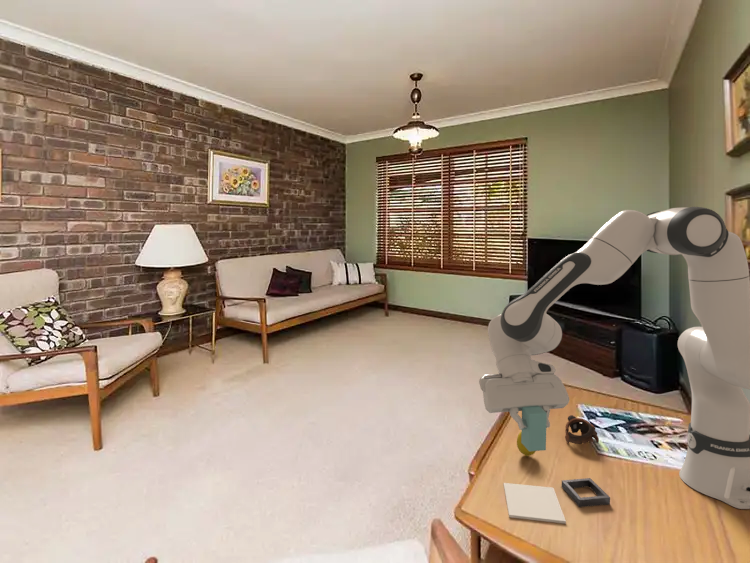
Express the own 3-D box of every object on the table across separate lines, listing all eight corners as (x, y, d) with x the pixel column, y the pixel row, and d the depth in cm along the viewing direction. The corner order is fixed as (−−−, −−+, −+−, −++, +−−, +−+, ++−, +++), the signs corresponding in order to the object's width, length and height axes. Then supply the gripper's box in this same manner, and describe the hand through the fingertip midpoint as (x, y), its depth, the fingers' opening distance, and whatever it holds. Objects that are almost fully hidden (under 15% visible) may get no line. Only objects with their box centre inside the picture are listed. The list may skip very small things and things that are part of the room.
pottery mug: (608, 448, 119) (602, 430, 116) (579, 462, 119) (572, 445, 116) (583, 421, 130) (576, 403, 127) (557, 434, 131) (550, 417, 127)
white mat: (553, 489, 100) (553, 487, 100) (565, 523, 88) (565, 521, 88) (503, 484, 102) (503, 482, 102) (509, 517, 91) (509, 514, 91)
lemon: (538, 462, 112) (539, 435, 111) (518, 460, 113) (518, 433, 112) (535, 451, 118) (535, 426, 117) (515, 450, 119) (515, 424, 118)
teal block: (537, 441, 96) (538, 405, 95) (545, 450, 92) (546, 413, 91) (521, 442, 96) (521, 406, 95) (529, 451, 92) (529, 414, 91)
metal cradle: (589, 484, 102) (590, 478, 101) (609, 504, 94) (610, 497, 94) (561, 487, 101) (561, 480, 101) (579, 507, 93) (579, 500, 93)
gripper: (480, 369, 98) (495, 426, 89) (560, 365, 100) (582, 420, 91) (474, 380, 103) (488, 435, 94) (550, 376, 104) (570, 429, 96)
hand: (535, 428), depth 93 cm, fingers closed on teal block, 4 cm apart
